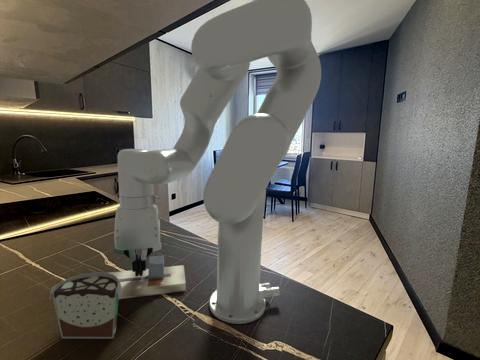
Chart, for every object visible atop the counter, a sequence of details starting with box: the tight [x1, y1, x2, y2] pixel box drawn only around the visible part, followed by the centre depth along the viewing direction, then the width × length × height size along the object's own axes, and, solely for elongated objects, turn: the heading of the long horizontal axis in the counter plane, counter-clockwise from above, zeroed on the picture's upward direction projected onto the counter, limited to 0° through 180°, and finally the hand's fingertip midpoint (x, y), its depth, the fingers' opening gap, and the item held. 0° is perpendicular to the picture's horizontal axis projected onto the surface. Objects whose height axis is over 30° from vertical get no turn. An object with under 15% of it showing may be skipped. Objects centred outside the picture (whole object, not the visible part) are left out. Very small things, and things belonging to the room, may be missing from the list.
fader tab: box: [147, 255, 165, 280], centre depth 64 cm, size 4×4×4 cm
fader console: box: [109, 265, 187, 300], centre depth 63 cm, size 22×9×2 cm, turn 105°
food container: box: [48, 271, 122, 340], centre depth 49 cm, size 12×6×10 cm, turn 92°
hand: (139, 273), depth 63 cm, fingers closed
